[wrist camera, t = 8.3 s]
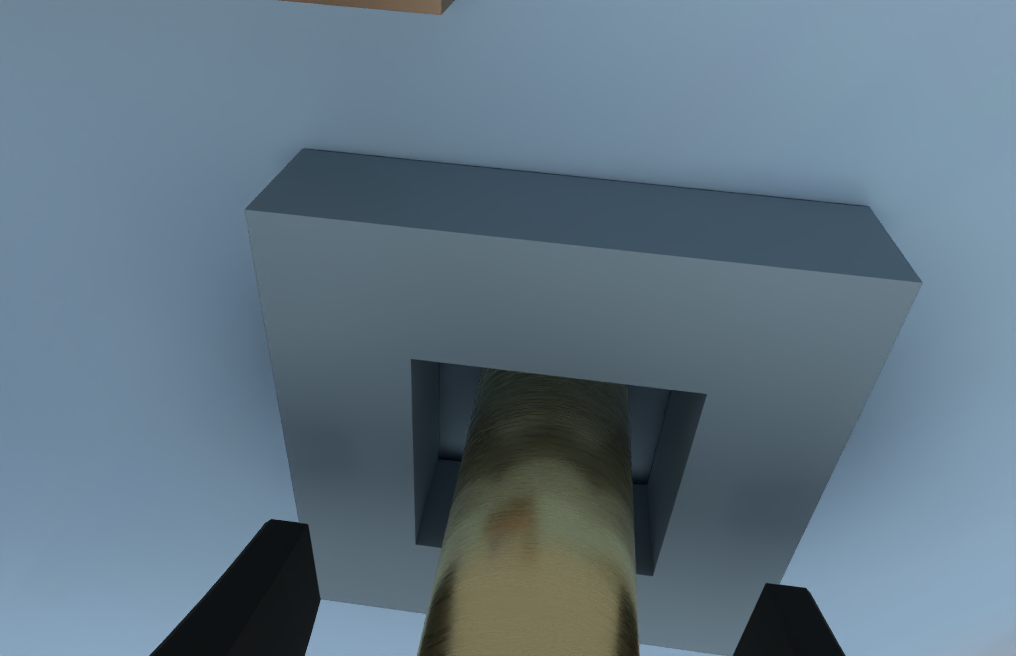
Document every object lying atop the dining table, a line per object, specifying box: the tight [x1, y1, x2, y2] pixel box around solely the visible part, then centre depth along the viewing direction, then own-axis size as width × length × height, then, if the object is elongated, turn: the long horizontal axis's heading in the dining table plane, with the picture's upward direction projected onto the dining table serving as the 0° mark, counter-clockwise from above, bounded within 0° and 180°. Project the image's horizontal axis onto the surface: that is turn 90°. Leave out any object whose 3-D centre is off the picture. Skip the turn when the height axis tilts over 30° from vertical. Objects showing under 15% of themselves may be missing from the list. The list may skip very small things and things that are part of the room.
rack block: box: [245, 149, 922, 656], centre depth 14 cm, size 10×10×2 cm
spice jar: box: [417, 367, 640, 656], centre depth 12 cm, size 3×3×9 cm
